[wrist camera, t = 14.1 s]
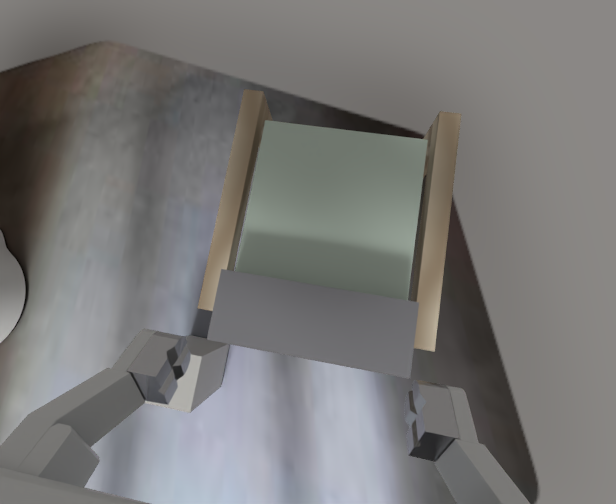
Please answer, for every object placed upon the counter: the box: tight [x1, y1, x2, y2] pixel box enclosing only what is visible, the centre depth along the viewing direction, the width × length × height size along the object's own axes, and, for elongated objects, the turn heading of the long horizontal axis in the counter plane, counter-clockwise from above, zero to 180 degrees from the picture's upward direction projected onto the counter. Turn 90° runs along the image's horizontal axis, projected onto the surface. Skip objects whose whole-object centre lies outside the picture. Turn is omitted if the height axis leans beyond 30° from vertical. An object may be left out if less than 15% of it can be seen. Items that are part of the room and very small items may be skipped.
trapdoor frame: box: [198, 89, 461, 352], centre depth 29 cm, size 16×17×16 cm
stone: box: [145, 335, 229, 413], centre depth 32 cm, size 5×5×8 cm
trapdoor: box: [207, 120, 428, 379], centre depth 20 cm, size 12×16×4 cm
